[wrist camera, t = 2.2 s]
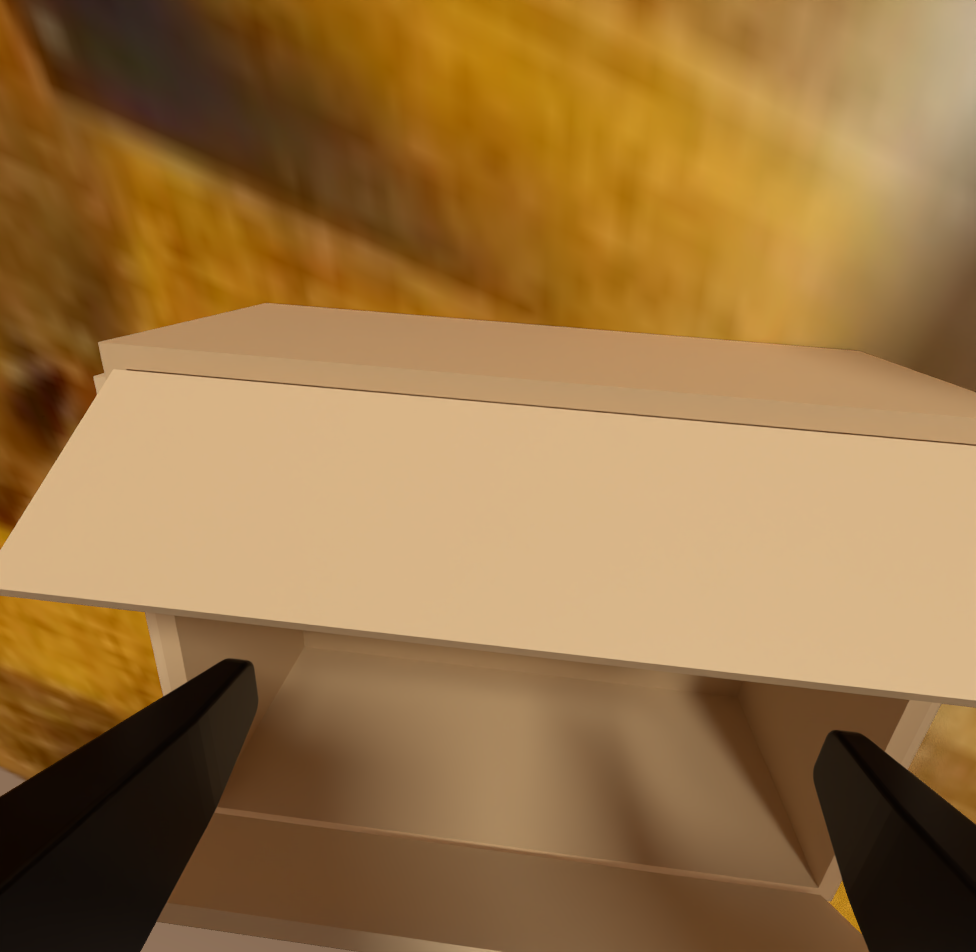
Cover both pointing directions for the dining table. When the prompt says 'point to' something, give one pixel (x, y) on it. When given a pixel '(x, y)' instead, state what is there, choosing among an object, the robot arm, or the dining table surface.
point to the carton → (534, 680)
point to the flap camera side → (474, 899)
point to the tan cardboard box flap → (517, 532)
